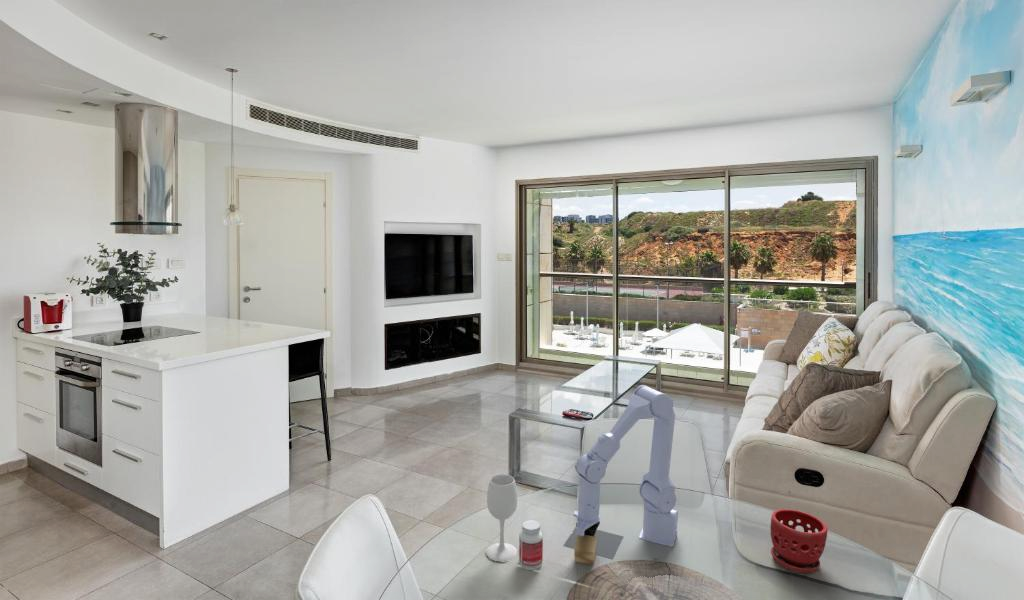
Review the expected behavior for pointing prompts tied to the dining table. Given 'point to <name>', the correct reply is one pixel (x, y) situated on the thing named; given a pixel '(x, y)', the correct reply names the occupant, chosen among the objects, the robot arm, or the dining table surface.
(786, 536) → the plant pot
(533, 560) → the pill bottle
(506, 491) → the wineglass
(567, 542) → the mat
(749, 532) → the dining table surface
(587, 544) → the oak block
